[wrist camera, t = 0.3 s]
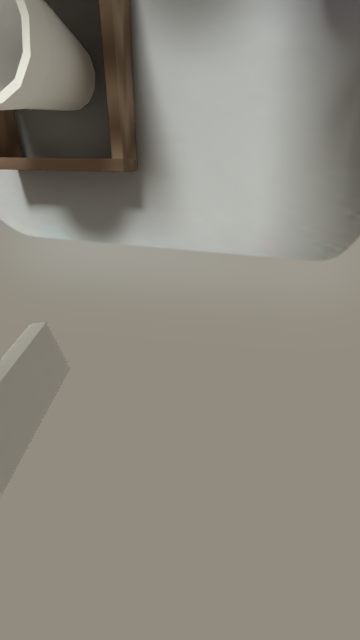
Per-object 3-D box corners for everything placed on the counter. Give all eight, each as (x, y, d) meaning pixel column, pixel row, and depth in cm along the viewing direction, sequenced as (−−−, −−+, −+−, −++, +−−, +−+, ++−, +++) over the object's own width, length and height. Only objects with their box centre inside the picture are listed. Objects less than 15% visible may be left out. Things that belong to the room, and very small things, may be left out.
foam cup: (23, 103, 34) (-90, 69, 22) (36, -1, 29) (-97, -110, 18) (96, 141, 34) (21, 127, 23) (120, 44, 29) (42, -34, 18)
